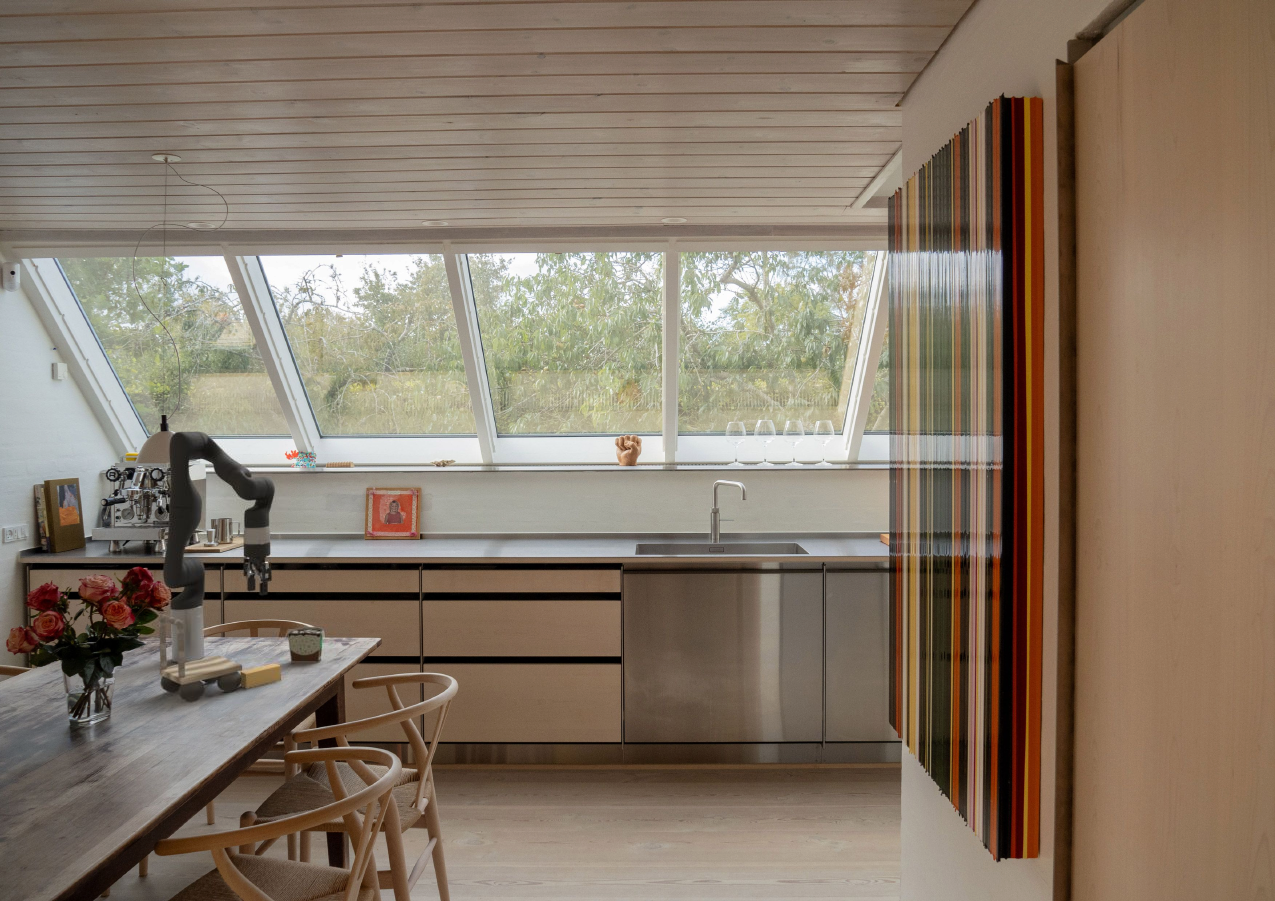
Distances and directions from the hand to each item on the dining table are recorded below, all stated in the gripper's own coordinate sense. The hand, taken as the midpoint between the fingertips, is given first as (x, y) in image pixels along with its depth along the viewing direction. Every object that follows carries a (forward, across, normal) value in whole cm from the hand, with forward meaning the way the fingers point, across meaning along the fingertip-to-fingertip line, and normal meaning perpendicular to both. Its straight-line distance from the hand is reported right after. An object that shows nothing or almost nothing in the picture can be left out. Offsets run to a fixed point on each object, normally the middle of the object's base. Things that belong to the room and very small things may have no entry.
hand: (257, 592), depth 242 cm
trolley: (+24, +8, -20) cm, 32 cm away
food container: (+24, +3, +15) cm, 29 cm away
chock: (+24, +14, -6) cm, 29 cm away
